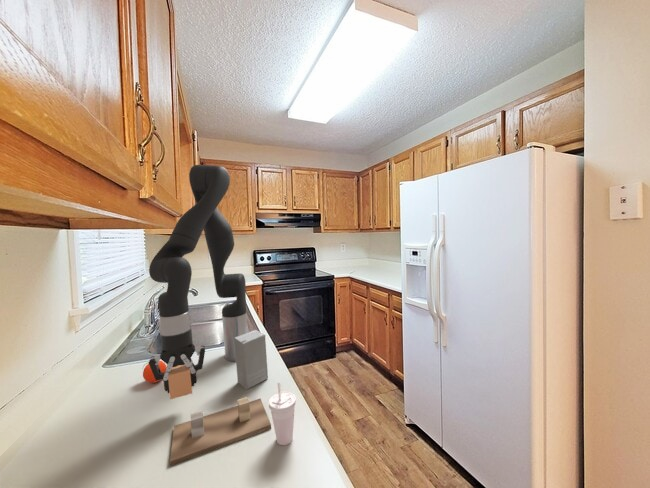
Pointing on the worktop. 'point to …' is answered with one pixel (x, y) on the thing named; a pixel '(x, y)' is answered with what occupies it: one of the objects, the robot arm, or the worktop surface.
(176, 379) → the light orange block
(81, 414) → the worktop surface
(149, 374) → the tomato
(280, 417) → the smoothie
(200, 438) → the post board
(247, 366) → the skincare box
